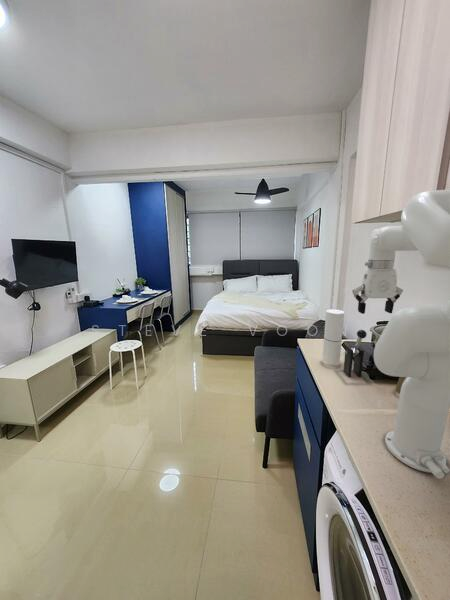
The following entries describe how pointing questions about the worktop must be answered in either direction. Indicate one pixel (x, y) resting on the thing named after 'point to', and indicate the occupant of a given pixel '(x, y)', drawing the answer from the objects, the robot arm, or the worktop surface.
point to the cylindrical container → (333, 336)
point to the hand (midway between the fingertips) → (374, 312)
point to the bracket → (357, 362)
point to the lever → (358, 342)
